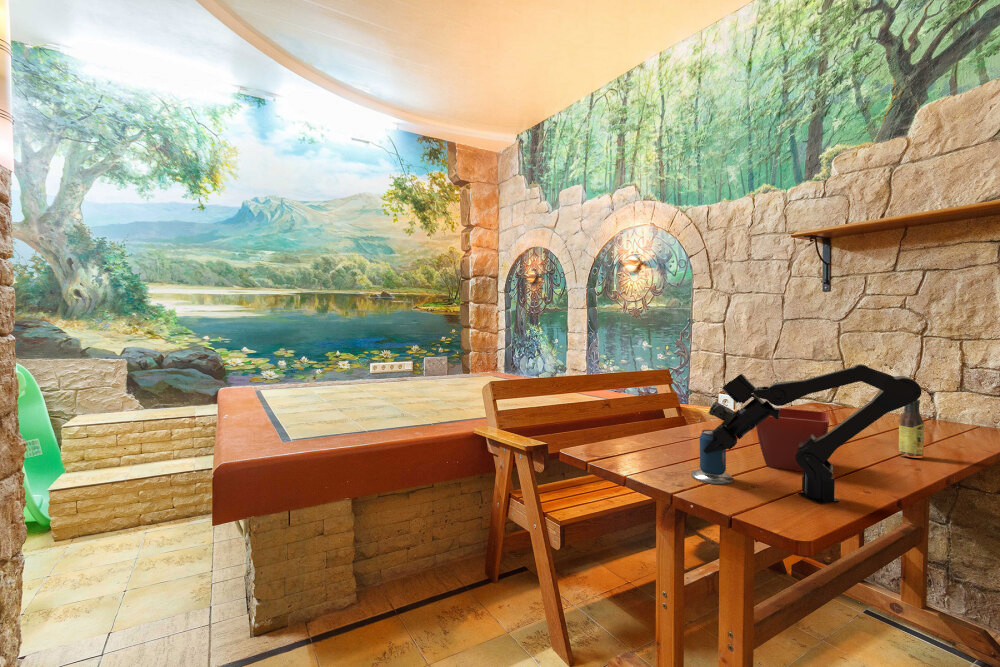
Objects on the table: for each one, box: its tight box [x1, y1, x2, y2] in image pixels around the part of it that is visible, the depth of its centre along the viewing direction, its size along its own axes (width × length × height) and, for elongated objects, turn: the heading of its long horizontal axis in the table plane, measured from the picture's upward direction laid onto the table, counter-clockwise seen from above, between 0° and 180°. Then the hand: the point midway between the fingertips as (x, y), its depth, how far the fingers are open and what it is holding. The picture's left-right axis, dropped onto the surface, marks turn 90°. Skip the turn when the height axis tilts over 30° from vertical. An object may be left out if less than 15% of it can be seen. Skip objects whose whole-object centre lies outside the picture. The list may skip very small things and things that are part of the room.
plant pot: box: [755, 407, 830, 473], centre depth 143 cm, size 19×19×17 cm
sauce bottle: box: [898, 399, 925, 456], centre depth 152 cm, size 7×6×20 cm
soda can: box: [699, 429, 727, 476], centre depth 131 cm, size 7×7×12 cm
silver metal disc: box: [690, 469, 734, 486], centre depth 131 cm, size 11×11×1 cm
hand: (707, 449), depth 131 cm, fingers closed on soda can, 7 cm apart
